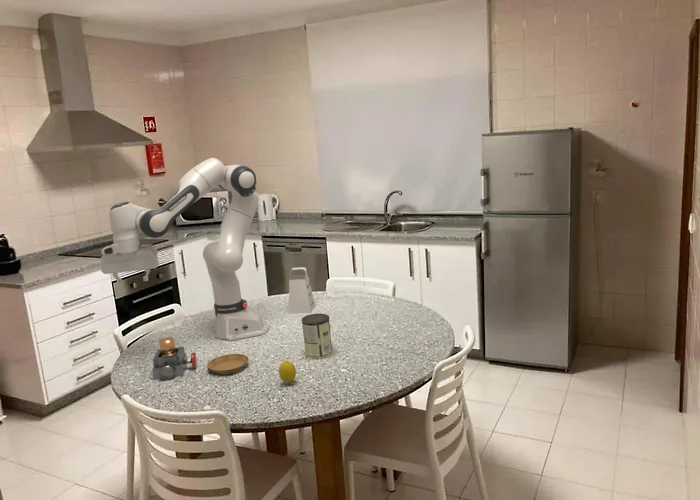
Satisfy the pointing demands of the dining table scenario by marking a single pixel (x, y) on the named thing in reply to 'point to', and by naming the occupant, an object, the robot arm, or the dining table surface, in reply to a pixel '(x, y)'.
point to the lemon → (287, 371)
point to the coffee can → (317, 336)
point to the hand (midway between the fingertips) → (133, 282)
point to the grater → (300, 293)
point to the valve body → (172, 364)
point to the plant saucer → (228, 363)
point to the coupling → (167, 347)
